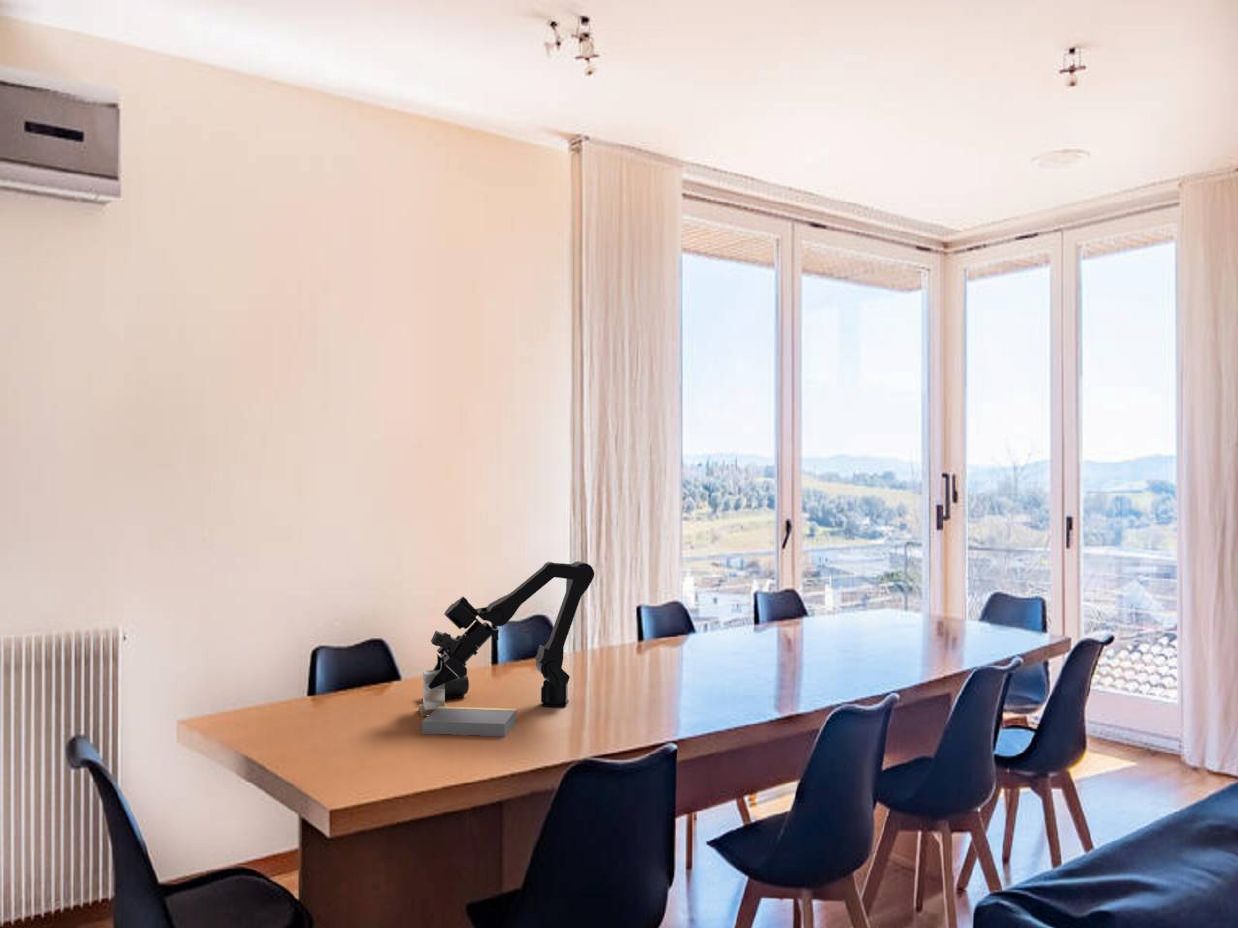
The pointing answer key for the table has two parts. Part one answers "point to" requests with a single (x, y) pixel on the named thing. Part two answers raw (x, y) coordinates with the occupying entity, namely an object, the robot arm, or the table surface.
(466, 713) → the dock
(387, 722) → the table surface
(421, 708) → the wrapped pallet load
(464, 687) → the end cap
